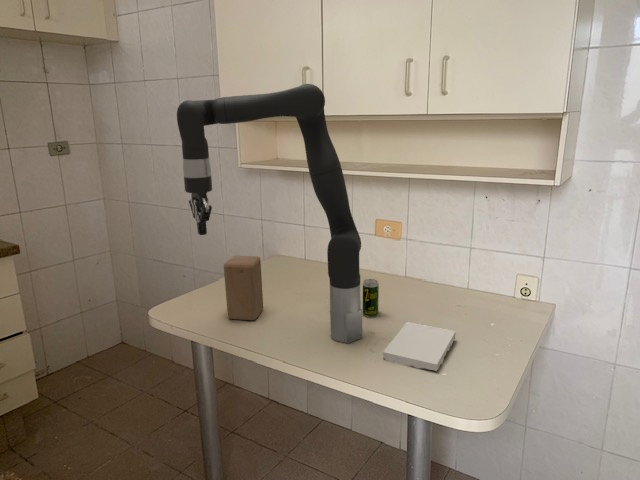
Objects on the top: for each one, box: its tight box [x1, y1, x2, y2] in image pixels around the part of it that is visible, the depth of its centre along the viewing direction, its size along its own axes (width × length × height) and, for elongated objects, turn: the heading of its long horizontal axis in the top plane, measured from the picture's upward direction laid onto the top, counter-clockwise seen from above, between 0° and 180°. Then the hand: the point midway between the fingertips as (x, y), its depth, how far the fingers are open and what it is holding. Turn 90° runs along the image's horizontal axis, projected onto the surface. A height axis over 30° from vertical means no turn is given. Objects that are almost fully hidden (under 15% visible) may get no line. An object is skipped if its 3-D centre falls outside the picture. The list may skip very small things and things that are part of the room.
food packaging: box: [382, 321, 457, 372], centre depth 134 cm, size 15×3×20 cm
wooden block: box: [223, 255, 264, 321], centre depth 158 cm, size 10×10×20 cm
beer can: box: [362, 278, 380, 319], centre depth 156 cm, size 5×5×12 cm
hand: (202, 234), depth 135 cm, fingers closed
